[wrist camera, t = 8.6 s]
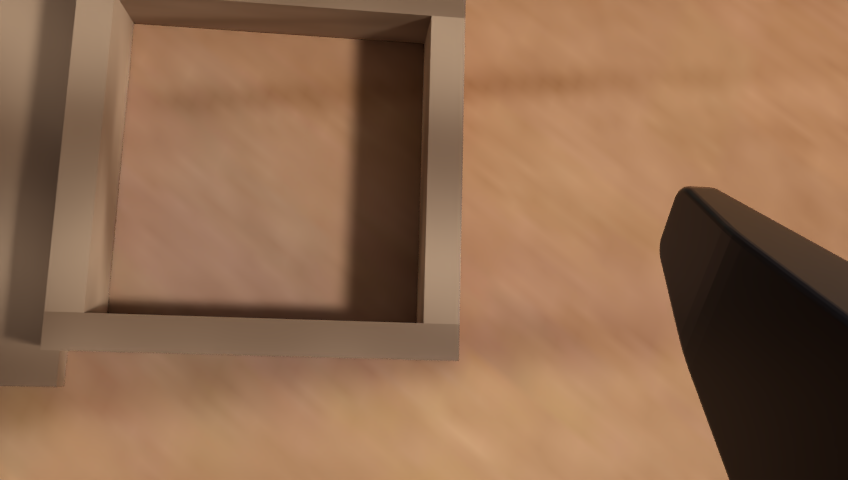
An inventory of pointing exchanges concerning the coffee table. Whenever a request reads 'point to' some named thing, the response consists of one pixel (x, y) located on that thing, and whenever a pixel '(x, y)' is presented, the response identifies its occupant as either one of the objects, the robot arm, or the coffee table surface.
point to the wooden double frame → (100, 173)
